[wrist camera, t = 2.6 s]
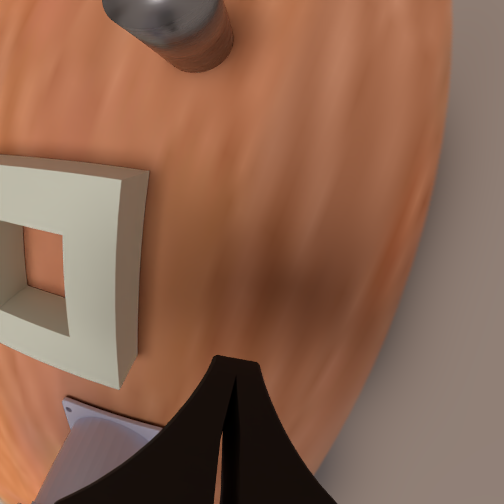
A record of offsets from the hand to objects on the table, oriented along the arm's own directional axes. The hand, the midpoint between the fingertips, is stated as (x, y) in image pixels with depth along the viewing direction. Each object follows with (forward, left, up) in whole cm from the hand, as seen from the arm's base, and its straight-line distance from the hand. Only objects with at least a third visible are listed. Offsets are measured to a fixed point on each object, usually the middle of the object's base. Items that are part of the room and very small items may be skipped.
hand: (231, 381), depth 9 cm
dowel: (+11, +4, -6) cm, 13 cm away
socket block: (0, +10, -6) cm, 12 cm away
